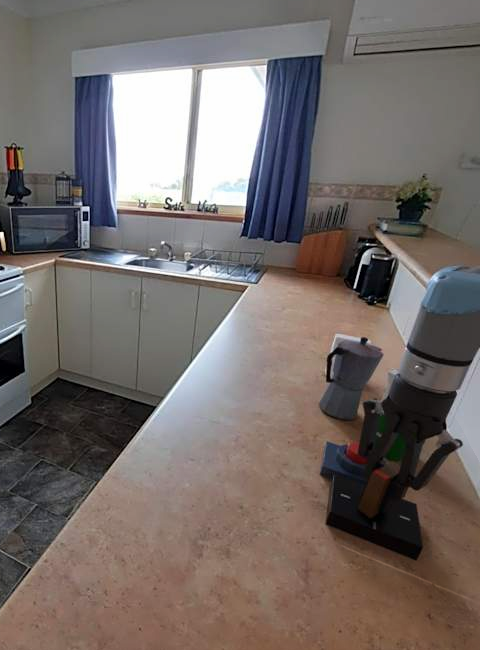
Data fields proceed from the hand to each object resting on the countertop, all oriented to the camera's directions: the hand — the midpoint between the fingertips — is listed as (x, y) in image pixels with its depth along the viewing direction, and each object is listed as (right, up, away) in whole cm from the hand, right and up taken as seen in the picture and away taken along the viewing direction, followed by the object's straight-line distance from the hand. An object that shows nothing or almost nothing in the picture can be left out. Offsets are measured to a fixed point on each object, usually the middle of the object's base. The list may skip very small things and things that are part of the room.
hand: (375, 502), depth 66 cm
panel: (0, -4, +2) cm, 4 cm away
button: (+3, +4, +11) cm, 12 cm away
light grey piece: (+21, +17, +50) cm, 57 cm away
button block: (+3, +1, +13) cm, 13 cm away
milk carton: (+15, +4, +20) cm, 25 cm away
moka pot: (+10, +10, +33) cm, 35 cm away
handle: (0, -1, 0) cm, 1 cm away
